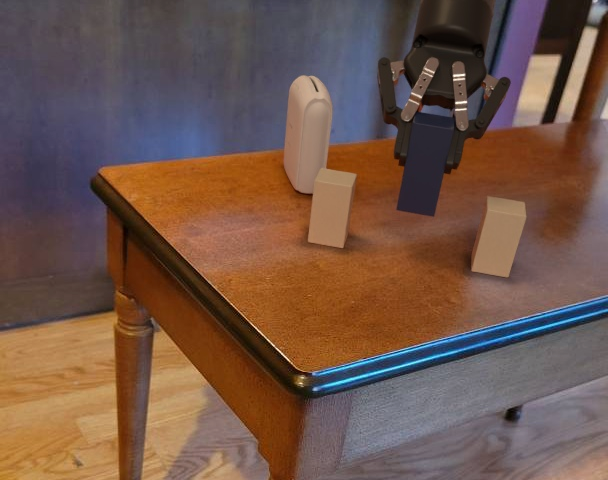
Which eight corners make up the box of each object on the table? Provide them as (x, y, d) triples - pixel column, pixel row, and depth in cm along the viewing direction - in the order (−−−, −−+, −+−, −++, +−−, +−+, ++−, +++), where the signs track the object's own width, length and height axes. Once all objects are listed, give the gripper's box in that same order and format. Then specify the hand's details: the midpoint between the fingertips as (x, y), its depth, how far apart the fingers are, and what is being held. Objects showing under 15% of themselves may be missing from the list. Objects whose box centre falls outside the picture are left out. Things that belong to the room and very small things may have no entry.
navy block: (435, 202, 80) (454, 117, 75) (434, 217, 77) (454, 129, 71) (399, 196, 80) (415, 111, 75) (396, 210, 77) (412, 122, 72)
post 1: (348, 234, 84) (357, 173, 80) (343, 248, 81) (352, 186, 77) (313, 227, 84) (320, 167, 80) (307, 242, 81) (314, 180, 77)
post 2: (507, 261, 82) (524, 201, 78) (508, 278, 79) (526, 216, 75) (471, 255, 83) (487, 195, 79) (471, 271, 80) (487, 209, 75)
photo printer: (279, 164, 99) (287, 66, 92) (310, 165, 100) (321, 68, 93) (293, 195, 91) (303, 90, 84) (326, 196, 92) (339, 92, 85)
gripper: (389, -25, 73) (355, 136, 71) (534, -3, 72) (504, 161, 70) (385, 25, 81) (354, 171, 78) (516, 45, 79) (488, 195, 77)
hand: (425, 165), depth 74 cm, fingers closed on navy block, 4 cm apart
